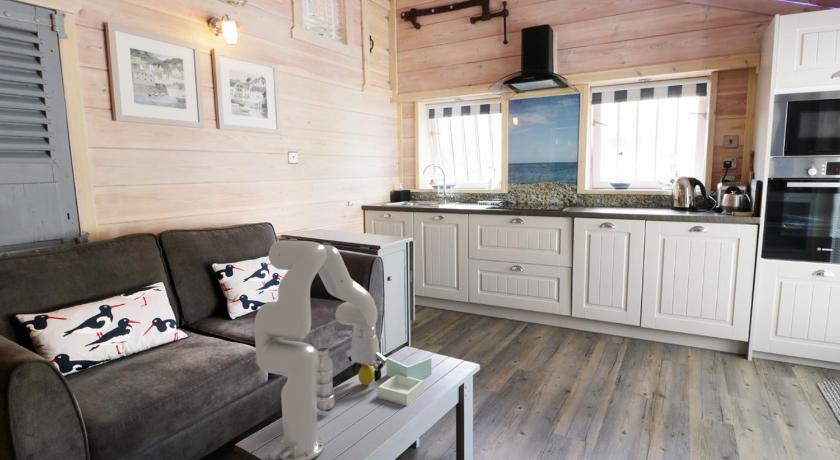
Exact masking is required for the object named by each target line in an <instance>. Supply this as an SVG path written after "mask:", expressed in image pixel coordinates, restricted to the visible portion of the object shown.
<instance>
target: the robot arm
mask: <svg viewBox="0 0 840 460" xmlns="http://www.w3.org/2000/svg"><path fill="white" fill-rule="evenodd" d="M343 259H344V258H343V257H342V255H341V253H340V251H339V249H338V248H336V246H334V245H329V244H321V243H319V242H315V241H308V240H284V239H283V240H277V241H275V242H274V243H273V244H272V245H271V246H270V248H269V251H268V260H269V262H270V264H271V266H273V268H275V269H277V270H285V271H287V272H286V273H285V274H284V276H282V279H281V280H280V282H279V285H278V289H277V290H278V291H277V292H278V294H277V298H278V299H277V302H275V301H270V302H266V303H264V304H263V305H262V306H260V308H259V309H258V310H257V312H256V315H255V318H254V341H255V354H256V355H255V357H256V363H257V365H258V367H259V369H260V370H262V371H263V372H266V373H269V374H274V375H280V376H284V377H286V378H287V380H286V382H285V384H284V385H283V387H282V389H281V392H280V393H281V394H280V395H281V396H280V398H281V399H280V400H281V401H280V402H281V412H282V413H281V414H282V416H281V417H282V433H283V437H282V438H283V439H281V440H280V445H279V446H278V448H277V449H275V450H273V451H272V452H270V454H269V455H270V458H271V459H272V460H277V459H278V457H279V458H280V459H281V460H312V459H314V458H316V457H318V456H319V455H320V454H321V453H322V452H323V451H324V447H325V446H324V445H325V442H324V440H323V438H322V437H321V436H319V432H318V431H319V430H318V427H319V426H318V409H317V402H316V373H317V366H318V352H317V350H318V349H316V347H314V346H313V345H312V344H310V343H307V342H303V341H302V342H301V341H295V340H302V339H305V338H307V336H309V334H310V332H311V327H312V310H311V287H312V283H313V281H314V279H315V277H316V275H317V274H318V275H319V277H320V279H321V282H322V283H323V285H324V287H325V289H326V291H327V293H329V294H330V295H331V296H333V297H336V298H337V299H340V300H341V301H344V302H343V303H341V304H340V305H338V307H337V308H336V310H335V313H334V314H335V319H336V321H337V322H338V323H340V324H342V325H347V326H352V331H353V332H354V334H352V337H351V345H350V346H351V347H350V349H349V350H348V349H347V350H346V351H345V352H346V353H345V354H346V356H347V358H348V361H349V362H350V365H351V367H352V370H351V371H352V376H354V377H355V376H356V375H357V376H358V375H359V370H360V364H361V365H369V366H371V367H372V368H374V370H373V371H374V379H373V381H374V382H377V381H379V380H380V379H382V369H383V368H384V366H385V365H386V361H387V359H386V358H387V357H385V356H384V355H383V354H381V352H380V350H381V349H380V344H379V338H378V335H377V332H376V329H377V328H376V323H377V321H378V309H377V305H376V303H375V299H374V297H373V296H372V295H371V294H370V293H369V291H368V290H366V289H365V287H363V286H361V284H359V283H358V282H356V281H355V280H354V279H352V277H351V276H350V272H349V271H348V268H347V266H346V265H345V262H344V260H343ZM287 339H288V340H287Z"/></svg>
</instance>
